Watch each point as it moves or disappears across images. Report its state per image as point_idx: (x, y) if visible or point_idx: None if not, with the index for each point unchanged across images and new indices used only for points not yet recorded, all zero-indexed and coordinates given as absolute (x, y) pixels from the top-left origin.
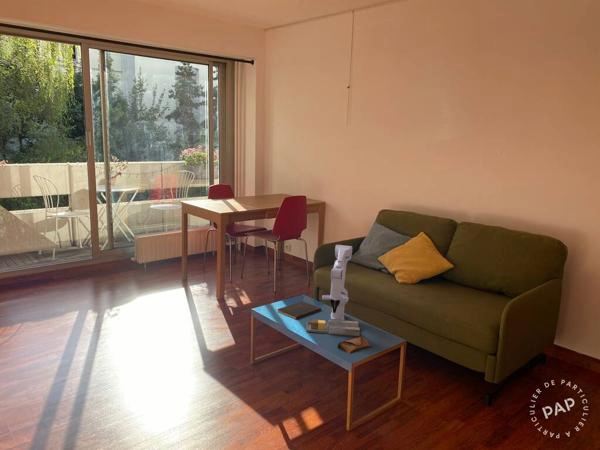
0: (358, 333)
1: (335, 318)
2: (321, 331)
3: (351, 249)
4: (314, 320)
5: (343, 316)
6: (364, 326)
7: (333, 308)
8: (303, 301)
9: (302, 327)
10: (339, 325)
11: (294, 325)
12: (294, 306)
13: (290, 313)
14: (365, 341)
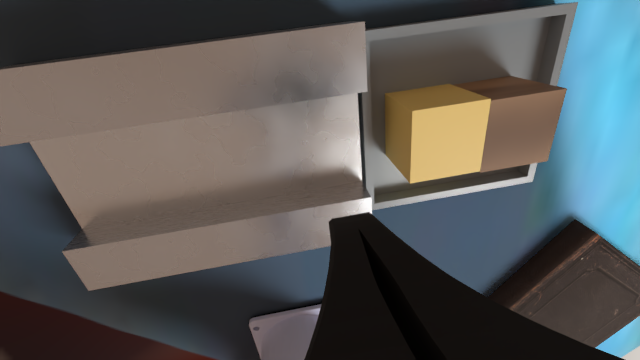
0: (1, 67)
1: (313, 314)
2: (423, 22)
3: None
4: (520, 147)
5: (261, 351)
6: (68, 283)
7: (406, 262)
8: None
9: (564, 99)
10: (261, 197)
11: (617, 118)
12: None
13: (615, 266)
14: None
